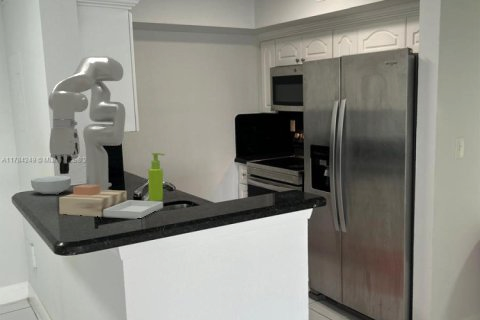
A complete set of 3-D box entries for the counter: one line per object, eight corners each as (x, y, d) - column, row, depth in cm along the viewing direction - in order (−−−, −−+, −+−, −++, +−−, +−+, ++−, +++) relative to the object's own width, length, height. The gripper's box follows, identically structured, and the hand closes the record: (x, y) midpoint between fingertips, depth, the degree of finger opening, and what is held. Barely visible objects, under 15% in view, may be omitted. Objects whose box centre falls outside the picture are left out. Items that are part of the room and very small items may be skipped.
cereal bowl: (36, 191, 210) (35, 176, 209) (73, 190, 213) (73, 175, 213) (27, 197, 193) (26, 180, 193) (67, 196, 197) (67, 180, 196)
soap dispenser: (162, 201, 186) (161, 153, 185) (146, 200, 188) (146, 153, 186) (167, 199, 192) (167, 152, 190) (151, 198, 193) (151, 152, 192)
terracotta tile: (83, 191, 172) (83, 184, 171) (100, 192, 170) (100, 184, 170) (73, 194, 165) (73, 186, 164) (90, 195, 163) (90, 187, 163)
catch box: (129, 206, 175) (129, 200, 175) (162, 208, 172) (162, 201, 172) (103, 216, 156) (103, 209, 156) (141, 219, 153) (141, 211, 153)
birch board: (89, 204, 179) (89, 189, 178) (126, 206, 175) (126, 191, 175) (59, 214, 159) (59, 197, 159) (100, 216, 156) (100, 199, 155)
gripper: (87, 125, 169) (87, 173, 170) (52, 124, 172) (52, 172, 173) (76, 124, 162) (76, 175, 163) (39, 124, 165) (40, 174, 166)
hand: (64, 173), depth 168 cm, fingers closed
